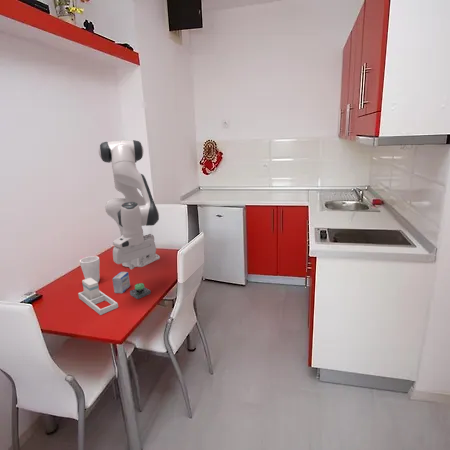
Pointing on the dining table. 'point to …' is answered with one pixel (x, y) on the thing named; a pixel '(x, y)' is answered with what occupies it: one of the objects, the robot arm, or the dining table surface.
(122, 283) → the medicine box
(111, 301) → the white rectangular tray
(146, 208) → the robot arm
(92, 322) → the dining table surface
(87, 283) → the seated billet
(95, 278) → the foam cup
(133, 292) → the grey button housing
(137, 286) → the button
